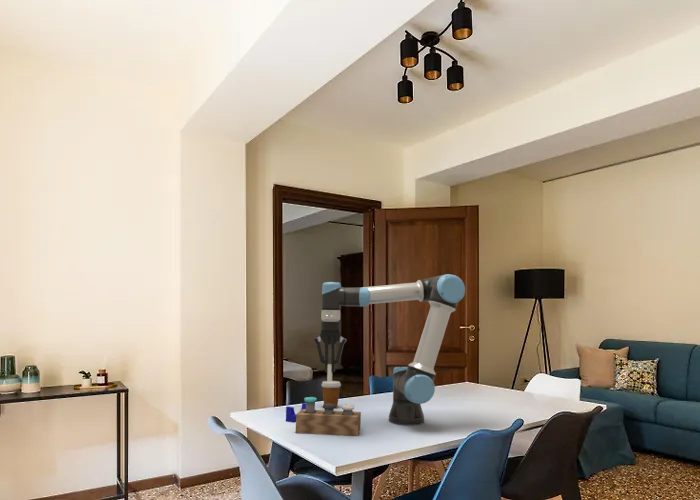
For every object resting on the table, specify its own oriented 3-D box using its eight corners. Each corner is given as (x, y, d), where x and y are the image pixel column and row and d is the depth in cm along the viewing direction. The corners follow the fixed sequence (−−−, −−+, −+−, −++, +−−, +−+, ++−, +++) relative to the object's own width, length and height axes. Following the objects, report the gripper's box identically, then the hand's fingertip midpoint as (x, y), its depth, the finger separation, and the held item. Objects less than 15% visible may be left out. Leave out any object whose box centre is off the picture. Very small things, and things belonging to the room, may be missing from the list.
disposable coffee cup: (332, 410, 243) (332, 384, 244) (316, 407, 249) (317, 382, 250) (344, 407, 251) (345, 382, 252) (329, 404, 256) (329, 380, 258)
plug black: (335, 427, 206) (336, 403, 206) (333, 429, 201) (334, 406, 202) (323, 426, 206) (324, 403, 207) (321, 429, 202) (321, 405, 202)
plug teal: (317, 420, 207) (317, 397, 208) (314, 423, 202) (315, 399, 203) (305, 419, 208) (305, 396, 208) (302, 422, 203) (303, 398, 204)
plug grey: (354, 428, 204) (354, 404, 205) (352, 430, 200) (353, 406, 201) (342, 427, 205) (342, 404, 206) (340, 430, 200) (340, 406, 201)
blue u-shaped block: (293, 423, 217) (294, 408, 218) (285, 421, 220) (286, 407, 220) (311, 418, 227) (312, 404, 228) (304, 416, 230) (304, 402, 230)
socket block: (360, 429, 207) (360, 411, 207) (357, 436, 197) (357, 417, 198) (301, 426, 210) (302, 409, 211) (295, 432, 200) (296, 414, 201)
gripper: (312, 320, 205) (311, 381, 203) (345, 321, 203) (344, 383, 201) (316, 320, 212) (315, 379, 210) (348, 320, 211) (347, 380, 208)
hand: (329, 381), depth 205 cm, fingers closed
